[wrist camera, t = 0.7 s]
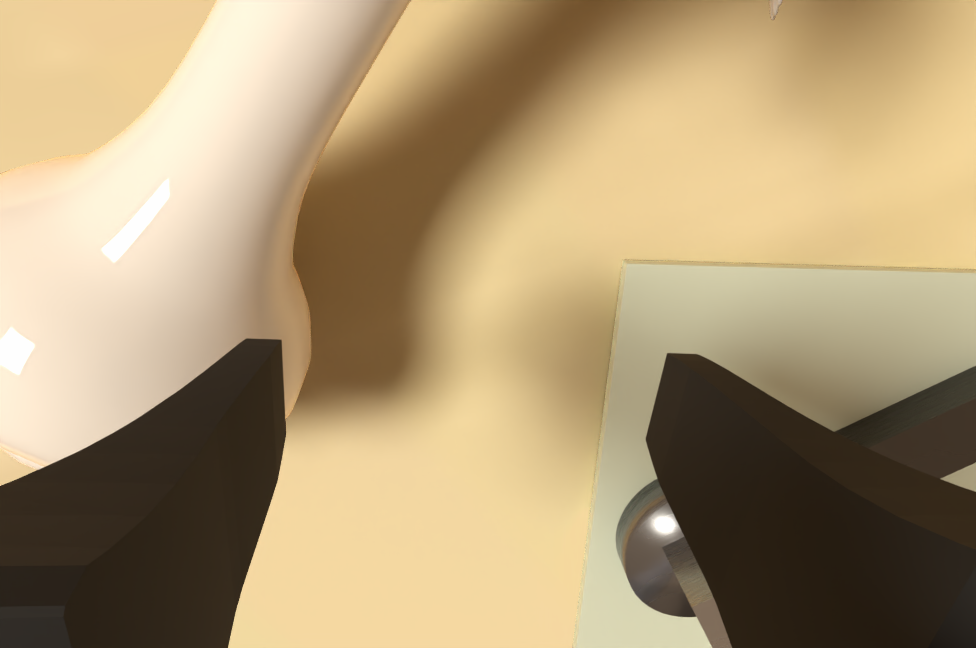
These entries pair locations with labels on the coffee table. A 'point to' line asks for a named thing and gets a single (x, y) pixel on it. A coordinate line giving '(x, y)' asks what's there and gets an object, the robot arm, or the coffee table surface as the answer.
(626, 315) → the mat
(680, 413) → the robot arm
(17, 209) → the flower vase
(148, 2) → the coffee table surface
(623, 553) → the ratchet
